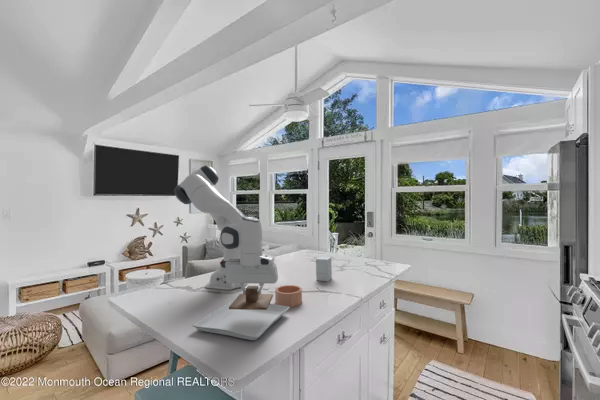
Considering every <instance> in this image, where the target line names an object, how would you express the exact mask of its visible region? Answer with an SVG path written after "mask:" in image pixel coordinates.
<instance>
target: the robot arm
mask: <svg viewBox="0 0 600 400" xmlns="http://www.w3.org/2000/svg"><path fill="white" fill-rule="evenodd" d="M218 182H219V175H218V173H217V171H216V170H215V169H214V168H213V167H211V166H209V165H206V164H205V165H203V166H201V167H200V168H199V169H197V170H196V171H194V172H192V173H191V174H188V175H187V176H186V177H185V178H184V180H183V181H181V182H180V184H177V185H176V187H175V188H174V190H173V193H174V195H175V198H176V199H177V201H179V202H180V203H182V204H184V205H190V204H192V205H193V206H194V207H195V208H196V209H197V210H198V211H200V212H202V213H204V214H205V213H206V214H209V215H210V216H211V217H212V218H213V221H214V222H215V223H216V226H217V229H218V231H220V234H219V235H220V236H219V237H220V238H219V239H220V242H221V245H222V246H223V259H222V260H220V262H219V265H220V267H218V268H217V269H216V270H215V271H214V272H213V273H211V275H210V279H209V281H208V282H207V283H205V288H206V289H215V290H228V291H231V290H234V289H238V288H240V289H241V290H242V294H243V295H246V288H247V287H246V286H248V284H258V287H259V288H258V289H257V295H261V294H262V289H263V287H264V285H265V284H276V283H277V282H278V280H279V276H278V275H279V274H278V268H277V264H276V263H275V256H273V255H270V254H267V253H264V252H263V251H264V250H263V247H262V243H263V228H262V223H261V221H260V219H258V218H257V217H254V216H246V215H245V214H244V213H243V212H242V211H241V210H240V209H239V208H238V207H237V206H236V205H234V204H233V203H232V202H231V201H230V200H228V199H227V198H225V197H224V196H222V194H221V193H220V192H219V191H218V190H217V188H216V187H214V186H217V185H216V184H218Z"/></svg>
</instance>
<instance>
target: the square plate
mask: <svg viewBox="0 0 600 400" xmlns="http://www.w3.org/2000/svg"><path fill="white" fill-rule="evenodd" d="M234 300H235V299H233V300H232V301H230V302H228V303H226V304H225V305H223V306H221V307H219V308H218V309H216V310H214V311H212V312H211V313H210V314H208V315H206V316H205V317H203V318H201V319H200V320H198V321H196V322H195V323H193V324H192V327H193V328H195V329H197V330H198V331H201V332H207V333H211V334H217V335H224V336H229V337H234V338H239V339H244V340H249V341H256V340H257V339H259V338H260V337H261V336H262V335H263V334H264V333H265V332H266V331H267V330H268V329H269V327H271V326H272V325H273V324H274V323H275V322H276V321H278V320H279V319H280V318H282V316H284V315H285V313H286V312H288V310H289V309H290V308H291V307H288V306H282V305H277V304H276V303H270V304H269V306H268V308H267V310H241V309H229V306H230V305H231V304H232V303H233V302H234Z"/></svg>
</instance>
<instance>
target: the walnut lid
mask: <svg viewBox="0 0 600 400" xmlns="http://www.w3.org/2000/svg"><path fill="white" fill-rule="evenodd" d="M245 288H246V295H243V293H239V294H238V295H237V296H236V298H235V299H233V300H234V302H233V303H232V304H231V305H230V306H229V309H241V310H267V308H268V306H269V304H271V301H272V299H273V297H274V294H273V293H261V295H257V289H259V285H247V287H245Z"/></svg>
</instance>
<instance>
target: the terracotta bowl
mask: <svg viewBox="0 0 600 400" xmlns="http://www.w3.org/2000/svg"><path fill="white" fill-rule="evenodd" d="M274 295H275V298H274V301H275V303H274V304H276V305H282V306H288V307H290V308H294V307H298V306H300V305H301V304H302V303H303V288H302V287H301V286H299V285H294V284H292V285H291V284H286V285H280V286H278V287H276V288H275V291H274Z"/></svg>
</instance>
